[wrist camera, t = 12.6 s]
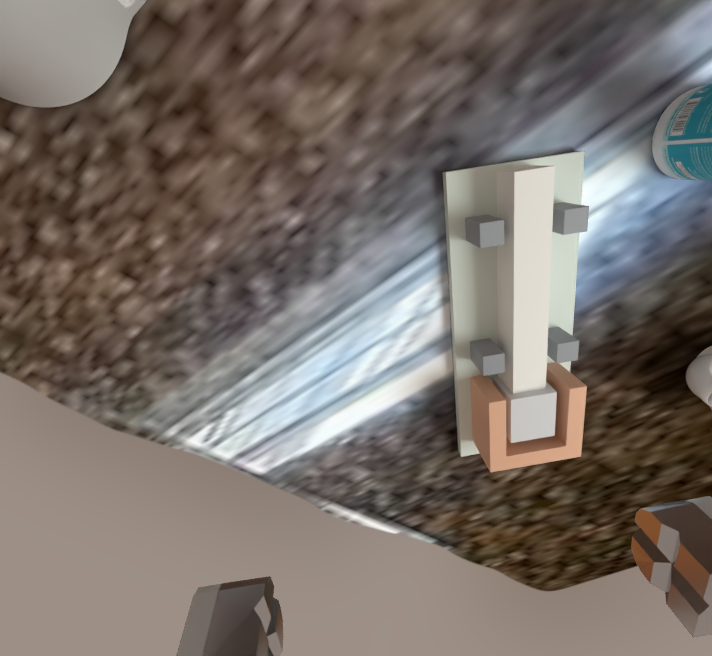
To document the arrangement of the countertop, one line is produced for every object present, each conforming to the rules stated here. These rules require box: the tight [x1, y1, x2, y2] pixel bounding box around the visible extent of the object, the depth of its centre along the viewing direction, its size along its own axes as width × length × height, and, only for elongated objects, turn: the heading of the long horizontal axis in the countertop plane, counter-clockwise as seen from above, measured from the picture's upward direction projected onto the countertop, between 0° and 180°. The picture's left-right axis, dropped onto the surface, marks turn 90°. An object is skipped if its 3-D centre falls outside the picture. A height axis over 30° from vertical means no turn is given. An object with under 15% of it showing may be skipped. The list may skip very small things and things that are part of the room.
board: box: [443, 151, 589, 472], centre depth 39 cm, size 30×12×6 cm, turn 8°
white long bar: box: [493, 165, 557, 443], centre depth 38 cm, size 25×4×4 cm, turn 8°
